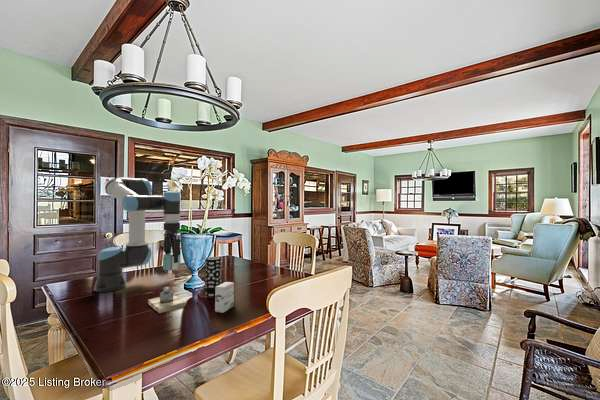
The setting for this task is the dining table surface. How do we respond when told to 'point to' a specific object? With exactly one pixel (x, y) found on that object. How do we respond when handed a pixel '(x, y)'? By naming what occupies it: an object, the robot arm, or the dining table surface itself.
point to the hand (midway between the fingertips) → (171, 267)
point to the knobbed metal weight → (166, 295)
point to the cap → (169, 261)
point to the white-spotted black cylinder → (212, 275)
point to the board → (166, 304)
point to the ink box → (224, 297)
